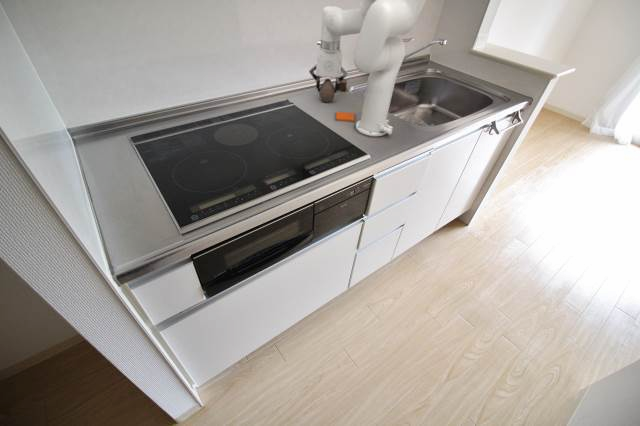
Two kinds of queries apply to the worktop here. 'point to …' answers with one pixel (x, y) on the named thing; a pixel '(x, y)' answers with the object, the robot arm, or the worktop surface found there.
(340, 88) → the walnut block
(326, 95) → the vase
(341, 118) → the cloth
